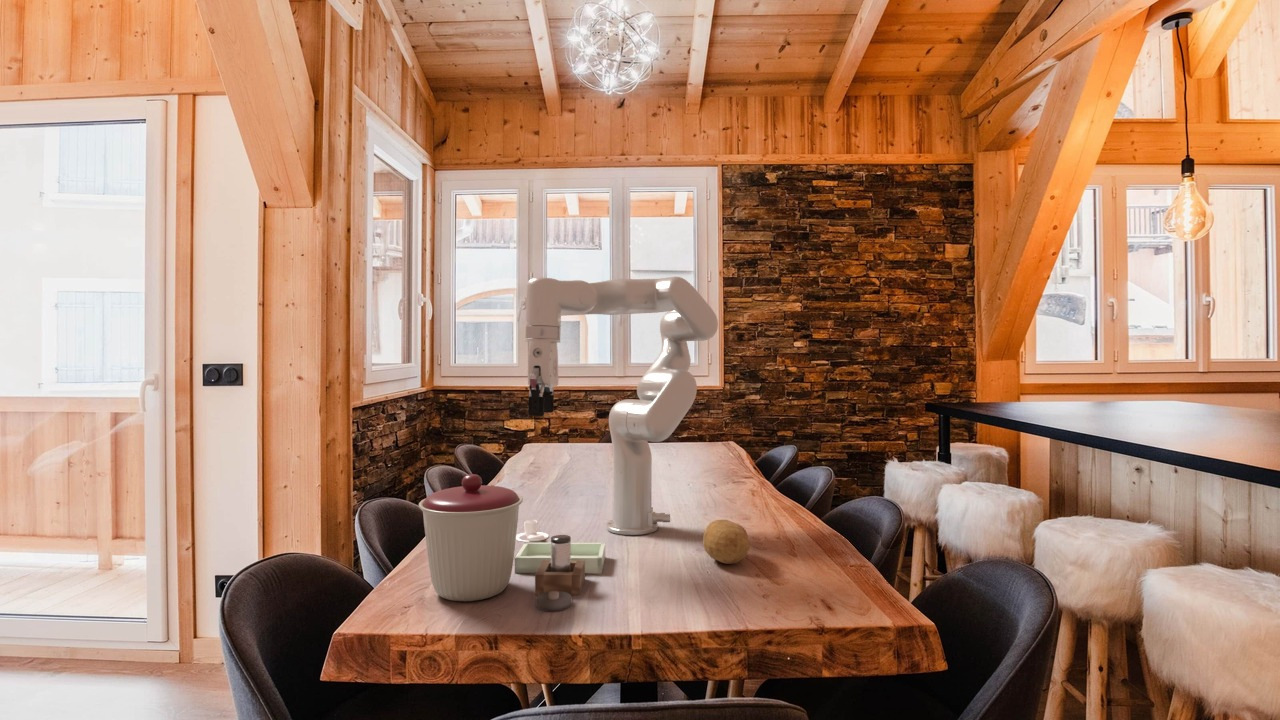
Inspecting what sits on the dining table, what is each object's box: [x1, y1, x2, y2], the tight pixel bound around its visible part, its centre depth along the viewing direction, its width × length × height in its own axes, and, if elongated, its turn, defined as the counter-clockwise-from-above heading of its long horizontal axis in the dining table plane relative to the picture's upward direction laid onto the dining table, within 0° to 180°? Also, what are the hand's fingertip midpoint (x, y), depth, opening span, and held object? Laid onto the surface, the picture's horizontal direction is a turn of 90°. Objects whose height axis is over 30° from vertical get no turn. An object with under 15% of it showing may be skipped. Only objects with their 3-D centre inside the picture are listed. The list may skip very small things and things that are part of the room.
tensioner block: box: [534, 560, 586, 613], centre depth 113 cm, size 8×16×4 cm, turn 179°
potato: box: [702, 519, 751, 565], centre depth 131 cm, size 10×14×8 cm
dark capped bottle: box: [550, 534, 572, 572], centre depth 117 cm, size 4×4×9 cm
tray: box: [514, 542, 606, 574], centre depth 129 cm, size 17×10×3 cm, turn 89°
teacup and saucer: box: [516, 519, 549, 543], centre depth 148 cm, size 9×8×4 cm
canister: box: [418, 473, 524, 602], centre depth 114 cm, size 18×18×21 cm
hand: (541, 414), depth 138 cm, fingers open, 9 cm apart
